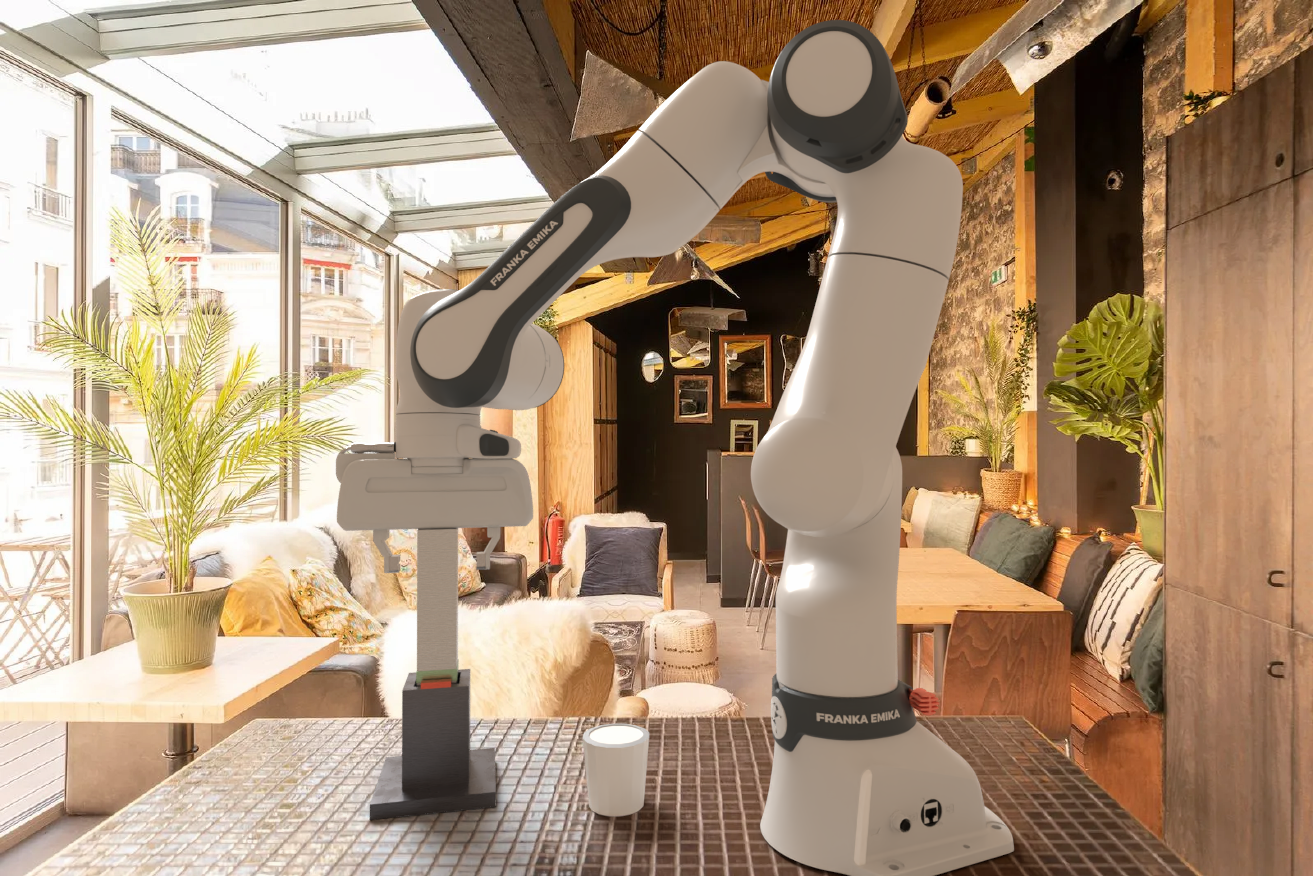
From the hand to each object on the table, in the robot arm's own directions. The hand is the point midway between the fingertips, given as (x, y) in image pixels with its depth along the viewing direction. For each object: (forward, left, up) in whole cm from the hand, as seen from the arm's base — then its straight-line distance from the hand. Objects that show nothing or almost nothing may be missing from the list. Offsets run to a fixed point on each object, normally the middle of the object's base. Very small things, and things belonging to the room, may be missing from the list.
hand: (438, 570), depth 81 cm
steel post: (0, 0, -13) cm, 13 cm away
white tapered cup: (-18, +8, -23) cm, 31 cm away
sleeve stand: (0, 0, -23) cm, 23 cm away
